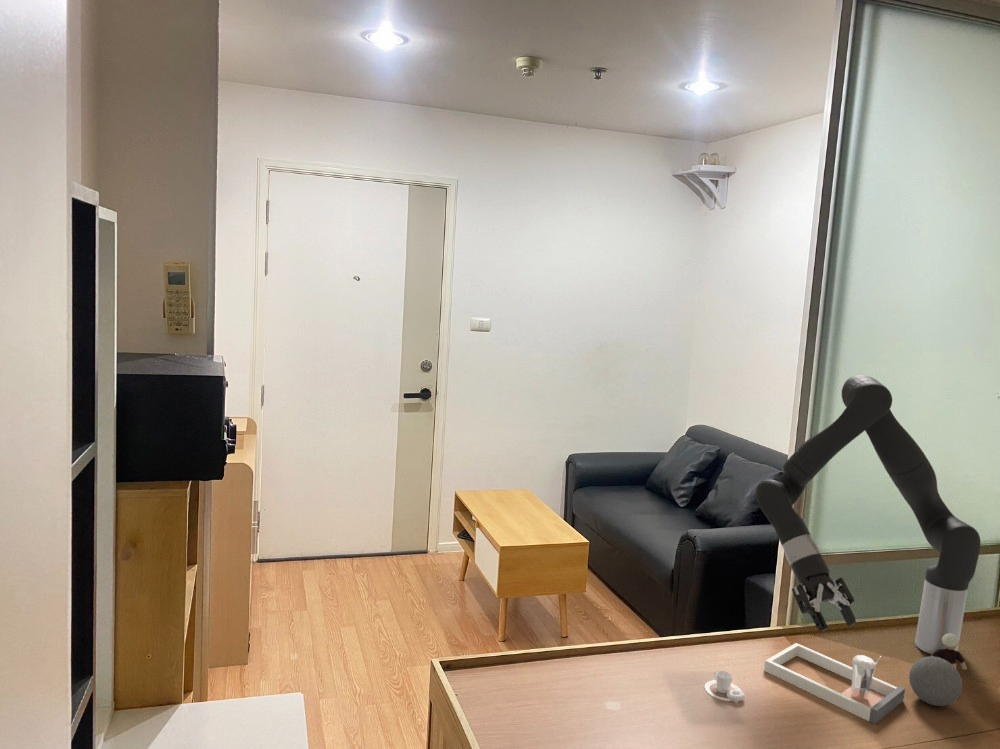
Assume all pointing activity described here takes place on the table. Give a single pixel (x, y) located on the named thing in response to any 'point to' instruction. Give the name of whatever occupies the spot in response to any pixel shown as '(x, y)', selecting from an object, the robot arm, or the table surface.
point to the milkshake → (862, 676)
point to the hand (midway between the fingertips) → (838, 627)
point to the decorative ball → (935, 681)
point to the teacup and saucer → (725, 687)
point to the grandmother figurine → (950, 651)
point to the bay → (866, 709)
